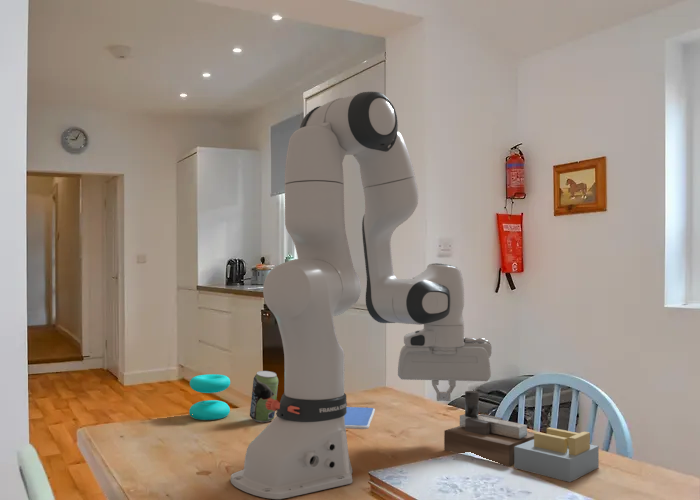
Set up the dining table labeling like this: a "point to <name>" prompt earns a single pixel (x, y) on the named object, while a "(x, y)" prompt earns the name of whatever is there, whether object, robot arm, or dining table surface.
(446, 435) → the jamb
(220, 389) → the donuts
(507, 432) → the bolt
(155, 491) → the dining table surface
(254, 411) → the beverage can
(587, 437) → the stacked blocks
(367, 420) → the tablet computer
